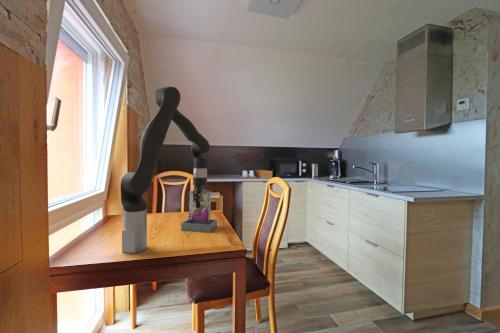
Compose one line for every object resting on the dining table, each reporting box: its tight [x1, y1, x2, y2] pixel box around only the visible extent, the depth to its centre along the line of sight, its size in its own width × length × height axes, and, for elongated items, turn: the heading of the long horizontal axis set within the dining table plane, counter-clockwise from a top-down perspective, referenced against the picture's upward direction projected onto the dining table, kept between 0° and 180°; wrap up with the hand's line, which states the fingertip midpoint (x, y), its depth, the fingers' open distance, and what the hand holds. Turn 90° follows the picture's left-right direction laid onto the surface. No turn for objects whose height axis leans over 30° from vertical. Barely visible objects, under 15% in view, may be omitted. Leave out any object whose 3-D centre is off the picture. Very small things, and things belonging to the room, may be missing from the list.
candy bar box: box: [188, 189, 212, 221], centre depth 138 cm, size 11×5×16 cm, turn 84°
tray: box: [180, 218, 218, 234], centre depth 138 cm, size 12×17×4 cm
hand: (199, 206), depth 138 cm, fingers closed on candy bar box, 5 cm apart
